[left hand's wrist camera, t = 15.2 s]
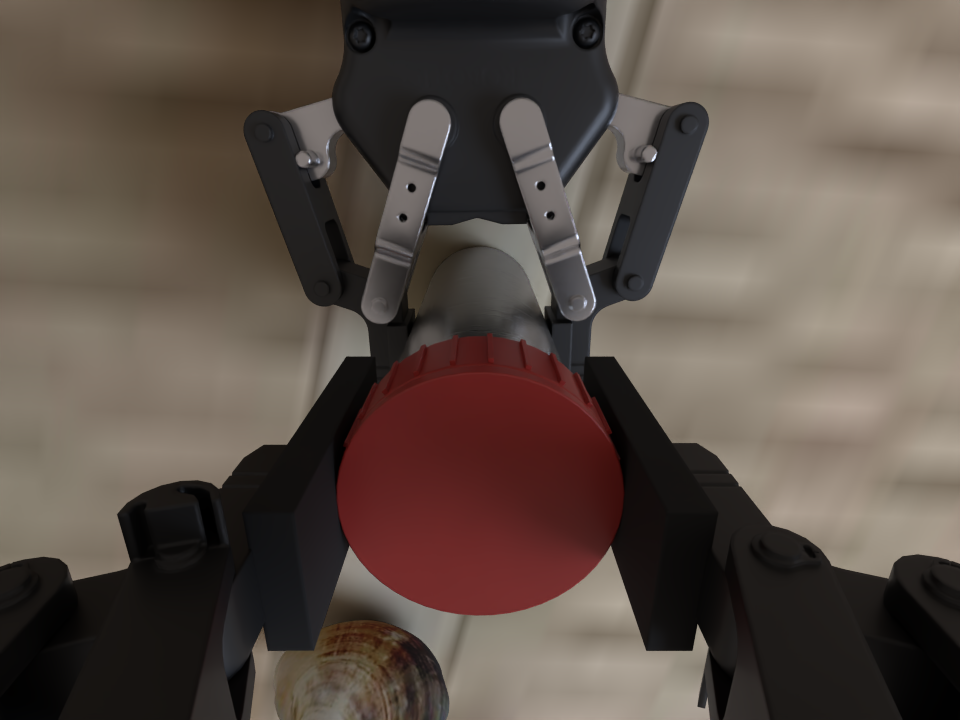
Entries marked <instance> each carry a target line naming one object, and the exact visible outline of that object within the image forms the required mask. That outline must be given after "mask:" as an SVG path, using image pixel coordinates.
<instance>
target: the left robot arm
mask: <svg viewBox="0 0 960 720" xmlns="http://www.w3.org/2000/svg"><path fill="white" fill-rule="evenodd" d="M374 383H376V384H377V371H376V358H375V357H346V358H345V360H344V361H343V362H342V364H341V365H340V367H339V368H338V370H337V371H336V373H335V374H334V376H333V377H332V379H331V380H330V382H329V383H328V385H327V386H326V388H325V389H324V391H323V392H322V394H321V395H320V397H319V398H318V400H317V401H316V403H315V404H314V406H313V407H312V409H311V410H310V412H309V413H308V415H307V416H306V418H305V419H304V421H303V422H302V424H301V425H300V427H299V428H298V429H297V431H296V432H295V434H294V435H293V437H292V438H291V440H290V441H289V443H288V444H287V445H263V446H261V447H260V448H258V449H257V450H255V451H254V452H252V453H250V454H249V455H247V456H246V457H244V458H243V460H242V461H241V462H240V463H239V465H238V466H237V467H236V468H235V470H234V471H233V472H232V476H229V477H228V479H227V480H226V481H225V482H224V484H223V485H222V488H220V489H218V488H217V487H215V486H214V485H213V484H212V483H208V482H203V481H198V480H195V481H179V482H175V483H170V484H166V485H161V486H159V487H156V488H154V489H151V490H149V491H147V492H144V493H142V494H140V495H139V496H137V497H136V498H134V499H133V500H131V501H130V502H128V503H127V504H126V505H125V506H124V507H123V508H122V509H121V510H120V512H119V513H118V514H117V516H118V519H119V523H120V526H121V530H122V533H123V537H124V540H125V544H126V547H127V551H128V554H129V557H130V561H131V562H130V565H129V567H128V569H124V570H121V571H117V572H112V573H108V574H103V575H98V576H94V577H89V578H84V579H80V580H75V581H72V578H71V575H70V572H69V569H68V566H67V565H66V564H65V563H64V562H62V561H61V560H60V559H57V558H49V557H39V558H32V559H25V560H21V561H17V562H13V563H11V564H10V563H9V564H7V565H4V566H1V567H0V720H250V715H251V706H252V698H253V689H254V681H255V673H256V672H255V665H254V658H253V653H252V648H253V646H254V644H255V642H256V640H257V638H258V635H259V633H260V631H261V629H262V627H264V633H265V638H266V643H267V649H268V651H314V649H315V646H316V643H317V640H318V637H319V634H320V631H321V628H322V625H323V622H324V619H325V616H326V613H327V611H328V608H329V605H330V602H331V599H332V596H333V593H334V590H335V587H336V584H337V581H338V578H339V575H340V572H341V569H342V566H343V563H344V560H345V557H346V554H347V551H348V548H349V543H348V541H347V539H346V537H345V535H344V532H343V529H342V526H341V523H340V520H339V516H338V508H337V499H336V482H337V476H338V470H339V466H340V463H341V460H342V457H343V454H344V451H345V449H346V447H343V445H344V442H345V440H346V438H347V436H348V433H349V431H350V429H351V427H352V425H353V423H354V421H355V419H356V417H357V415H358V412H359V410H360V409H362V407H363V405H364V403H365V400H366V398H367V396H368V394H369V392H370V390H371V388H372V386H373V384H374ZM583 384H584V386H585V388H586V390H587V392H588V394H589V396H590V397H591V398H592V397H595V398H596V400H597V402H598V404H599V406H600V409H601V411H602V413H603V415H604V417H605V419H606V421H607V423H608V425H609V427H610V429H611V431H612V433H611V434H609V435H610V437H611V439H612V442H613V444H614V446H615V448H616V450H617V452H618V454H619V457H620V459H621V460H620V465H621V469H622V473H623V477H624V502H623V511H622V517H621V521H620V525H619V528H618V530H617V533H616V535H615V538H614V540H613V542H612V544H611V547H612V550H613V553H614V556H615V559H616V562H617V565H618V568H619V571H620V574H621V577H622V580H623V583H624V586H625V589H626V592H627V595H628V598H629V601H630V604H631V607H632V610H633V612H634V615H635V618H636V621H637V624H638V627H639V630H640V633H641V636H642V639H643V642H644V645H645V648H646V651H692V650H693V645H694V640H695V635H696V629H697V624H698V625H699V628H700V630H701V632H702V634H703V636H704V638H705V640H706V643H707V645H708V647H709V648H708V653H707V658H706V663H705V668H704V673H703V678H702V683H701V688H700V693H699V699H698V707H701V708H705V706H706V701H707V697H708V705H709V713H710V720H960V564H959V563H956V562H953V561H952V562H951V561H949V560H947V559H942V558H939V557H932V556H925V555H910V556H902V557H901V558H900V559H898V560H897V561H896V562H895V563H894V565H893V568H892V570H891V573H890V576H889V579H887V578H883V577H878V576H873V575H869V574H864V573H859V572H854V571H850V570H845V569H841V568H838V567H834V566H831V564H830V561H829V560H828V559H827V557H826V556H825V555H824V553H823V552H822V551H821V549H819V548H818V547H817V546H815V545H814V544H813V543H811V542H810V541H809V540H807V539H806V538H804V537H802V536H800V535H798V534H796V533H794V532H791V531H789V530H787V529H783V528H779V527H775V526H772V525H771V524H770V523H769V521H768V520H767V519H766V517H765V516H764V515H763V514H762V512H761V511H760V510H759V509H758V507H757V506H756V505H755V504H754V502H753V501H752V500H751V499H750V497H749V496H748V495H747V494H746V492H745V491H744V490H743V488H742V487H739V485H738V482H737V481H736V480H735V478H734V477H733V476H732V475H731V474H729V471H728V470H727V468H726V467H725V466H724V465H723V463H722V462H721V461H720V459H719V458H718V457H717V456H716V455H714V454H713V453H711V452H710V451H708V450H707V449H705V448H704V447H702V446H700V445H699V444H697V443H672V442H671V441H670V439H669V438H668V436H667V435H666V433H665V432H664V430H663V429H662V427H661V426H660V425H659V423H658V422H657V420H656V419H655V417H654V416H653V414H652V413H651V411H650V410H649V408H648V407H647V405H646V404H645V402H644V401H643V399H642V398H641V396H640V395H639V393H638V392H637V390H636V389H635V387H634V386H633V384H632V383H631V381H630V380H629V378H628V377H627V375H626V374H625V372H624V371H623V369H622V368H621V366H620V365H619V363H618V362H617V361H616V359H615V358H614V357H585V362H584V376H583Z"/></svg>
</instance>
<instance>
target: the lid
mask: <svg viewBox="0 0 960 720" xmlns="http://www.w3.org/2000/svg"><path fill="white" fill-rule="evenodd" d="M611 433H612V431H611V429H610V427H609V425H608V423H607V421H606V419H605V417H604V415H603V413H602V411H601V409H600V406H599V404H598V402H597V400H596V398H595V397H592V398H591V397H590V396H589V394H588V392H587V390H586V388H585V386H584V384H583V382H582V379H581V377H580V375H579V374H578V373H577V372H576V373H575V374H573V373H572V372H571V371H570V370H569V369H568V368H567V367H565V366H564V365H563V364H562V363H560V362H559V361H558V360H557V357H556V355H555V354H554V353H552V352H551V354H550V355H549V354H547V353H545V352H543V351H541V350H539V349H537V348H535V347H533V346H530V345H527V344H526V340H523V339H521V340H520V342H519V341H514V340H510V339H506V338H500V337H493V336H492V333H487V336H469V337H461V338H459V337H458V335H453V339H449V340H446V341H442V342H439V343H435V344H433V345H430V346H428V347H427V346H426V344H424V345H422V346H421V347H420V350H419V351H417V352H415V353H414V354H412V355H410V356H409V357H407V358H405V359H404V360H403V361H401V362H400V363H399V362H398V361H396V362H394V363H393V365H392V368H391V370H390V372H389V373H388V374H387V375H386V376H385V377H384V378H383V379H382V380H381V381H380V383H379V384H376V383H374V384H373V386H372V388H371V390H370V392H369V394H368V396H367V398H366V400H365V403H364V405H363V407H362V409H360V410H359V412H358V415H357V417H356V419H355V421H354V423H353V425H352V427H351V429H350V431H349V433H348V436H347V438H346V440H345V442H344V445H343V447H346V449H345V451H344V454H343V457H342V460H341V463H340V466H339V470H338V476H337V482H336V499H337V508H338V516H339V520H340V523H341V526H342V529H343V532H344V535H345V537H346V539H347V541H348V543H349V545H350V547H351V548H352V550H353V551H354V553H355V555H356V556H357V558H358V559H359V560H360V561H361V563H362V564H363V565H364V566H365V567H366V568H367V570H368V571H369V572H370V573H371V574H373V575H374V576H375V577H376V578H377V579H378V580H379V581H380V582H381V583H383V584H384V585H386V586H387V587H389V588H390V589H391V590H393V591H394V592H396V593H398V594H400V595H401V596H403V597H405V598H407V599H409V600H411V601H413V602H416V603H418V604H421V605H423V606H426V607H429V608H433V609H436V610H440V611H444V612H450V613H455V614H464V615H497V614H505V613H511V612H516V611H520V610H525V609H528V608H531V607H534V606H537V605H540V604H543V603H545V602H547V601H549V600H551V599H553V598H556V597H558V596H559V595H561V594H563V593H564V592H566V591H567V590H569V589H571V588H572V587H573V586H575V585H576V584H577V583H579V582H580V581H581V580H582V579H584V578H585V577H586V576H587V575H588V574H589V573H590V572H591V571H592V570H593V569H594V568H595V567H596V566H597V564H598V563H599V562H600V561H601V559H602V558H603V557H604V555H605V554H606V552H607V551H608V549H609V547H610V546H611V544H612V542H613V540H614V538H615V535H616V533H617V530H618V528H619V525H620V521H621V517H622V511H623V502H624V477H623V473H622V469H621V465H620V460H621V459H620V457H619V454H618V452H617V450H616V448H615V446H614V444H613V442H612V439H611V437H610V435H609V434H611Z"/></svg>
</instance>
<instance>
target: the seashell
mask: <svg viewBox="0 0 960 720" xmlns="http://www.w3.org/2000/svg"><path fill="white" fill-rule="evenodd" d="M273 686H274V691H275V707H276V711H277V714H278V717H279V719H280V720H446V719H447V716H448V712H449V696H448V692H447V688H446V685H445V682H444V679H443V675H442V671H441V668H440V665H439V663H438V662H437V660H436V658H435V656H434V655H433V654H432V652H431V651H430V649H429V648H428V647H427V646H426V645H425V644H424V643H423V642H422V641H421V640H420V639H419V638H417V637H416V636H414V635H413V634H411V633H409V632H407V631H405V630H403V629H401V628H399V627H396V626H393V625H391V624H388V623H384V622H380V621H373V620H356V621H348V622H342V623H337V624H334V625H330V626H328V627H325V628H322V629H321V631H320V634H319V637H318V640H317V643H316V646H315V649H314V651H286V652H285V653H284V654H283V655H282V656H281V658H280V660H279V661H278V664H277V666H276V669H275V674H274V679H273Z"/></svg>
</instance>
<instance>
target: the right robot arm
mask: <svg viewBox="0 0 960 720" xmlns="http://www.w3.org/2000/svg"><path fill="white" fill-rule="evenodd" d="M340 1H341V12H342V23H343V34H344V55H343V61H342V66H341V69H340V72H339V75H338V77H337V79H336V82H335V84H334V87H333V92H332V98H329V99H326V100H323V101H319V102H316V103H313V104H309V105H306V106H303V107H299V108H296V109H293V110H289V111H286V112H283V113H279V112H275V111H265V110H258V111H255V112H253V113H251V114H250V115H249V116H248V117H247V119H246V120H245V123H244V136H245V139H246V142H247V144H248V147H249V149H250V152H251V155H252V157H253V160H254V162H255V165H256V167H257V170H258V173H259V175H260V178H261V180H262V183H263V186H264V188H265V191H266V193H267V196H268V198H269V201H270V204H271V206H272V209H273V211H274V214H275V217H276V219H277V222H278V224H279V227H280V229H281V232H282V235H283V237H284V240H285V242H286V245H287V248H288V250H289V253H290V255H291V258H292V260H293V263H294V266H295V268H296V271H297V273H298V276H299V279H300V281H301V284H302V286H303V289H304V291H305V294H306V296H307V297H308V299H309V300H310V301H311V302H313V303H314V304H316V305H319V306H330V305H333V304H334V305H337V306H340V307H343V308H346V309H349V310H352V311H355V312H356V313H358V314H359V315H360V316H361V317H362V318H363V319H364V320H365V322H366V324H367V327H368V331H369V342H370V353H371V357H375V358H376V371H377V384H379V383H380V381H381V380H382V379H383V378H384V377H385V376H386V375H387V374H388V373H389V372H390V370H391V368H392V365H393V363H394V362H396V361H398V362H399V360H400V357H401V355H402V352H403V350H404V347H405V345H406V342H407V340H408V337H409V335H410V332H411V330H412V327H413V324H414V322H415V309H408V298H407V292H408V289H409V285H410V282H411V279H412V275H413V272H414V269H415V266H416V262H417V259H418V256H419V252H420V250H421V247H422V244H423V241H424V238H425V235H426V232H427V228H428V225H453V224H457V223H460V222H464V221H467V220H470V219H474V218H481V219H484V220H488V221H492V222H496V223H500V224H527V226H528V229H529V231H530V234H531V237H532V240H533V243H534V245H535V248H536V251H537V253H538V256H539V259H540V262H541V265H542V268H543V271H544V274H545V277H546V280H547V283H548V286H549V289H550V292H551V306H545V317H544V319H545V322H546V324H547V327H548V329H549V332H550V334H551V337H552V339H553V342H554V344H555V347H556V349H557V352H558V354H559V357H560V359H561V362H562V364H563V365H564V366H565V367H567V368H568V369H569V370H570V371H571V372H572V373H573V374H575V373H576V372H577V373H578V374H579V375H580V377H581V379H582V382H583V376H584V362H585V357H590V340H591V326H592V322H593V319H594V317H595V316H596V314H597V313H598V312H599V311H600V310H601V309H603V308H604V307H606V306H609V305H612V304H614V303H617V302H620V301H623V300H628V301H637V300H640V299H642V298H644V297H645V296H646V295H647V294H648V293H649V292H650V290H651V288H652V286H653V283H654V280H655V278H656V275H657V272H658V269H659V266H660V263H661V260H662V258H663V255H664V252H665V249H666V246H667V243H668V241H669V238H670V235H671V232H672V229H673V226H674V224H675V221H676V218H677V215H678V212H679V209H680V206H681V204H682V201H683V198H684V195H685V192H686V189H687V187H688V184H689V181H690V178H691V175H692V172H693V169H694V167H695V164H696V161H697V158H698V155H699V152H700V150H701V147H702V144H703V141H704V138H705V135H706V133H707V130H708V126H709V118H708V114H707V111H706V110H705V108H704V107H703V106H701V105H700V104H698V103H695V102H686V103H682V104H679V105H675V106H666V105H662V104H658V103H655V102H651V101H647V100H643V99H639V98H636V97H632V96H628V95H624V94H621V93H619V92H618V86H617V82H616V79H615V77H614V75H613V73H612V71H611V68H610V66H609V63H608V59H607V55H606V50H605V20H606V2H607V0H340ZM606 129H609V130H610V131H611V132H612V133H613V134H614V135H615V137H616V140H617V153H616V159H617V163H618V165H619V167H620V168H621V170H623V171H624V172H626V173H628V174H629V175H628V178H627V182H626V185H625V188H624V191H623V194H622V198H621V201H620V204H619V207H618V210H617V214H616V217H615V220H614V223H613V226H612V230H611V233H610V236H609V239H608V242H607V246H606V249H605V252H604V255H603V258H602V260H600V261H598V262H595V263H592V264H590V265H587V266H586V265H585V262H584V259H583V256H582V252H581V248H580V240H579V236H578V232H577V229H576V226H575V223H574V220H573V216H572V213H571V210H570V207H569V203H568V200H567V197H566V194H565V190H564V187H565V186H566V185H567V183H568V182H569V181H570V179H571V178H572V176H573V175H574V174H575V172H576V171H577V169H578V168H579V167H580V165H581V164H582V163H583V161H584V160H585V158H586V157H587V156H588V154H589V153H590V152H591V150H592V149H593V147H594V146H595V145H596V143H597V142H598V140H599V139H600V138H601V136H602V135H603V134H604V132H605V131H606ZM344 133H345V134H346V135H347V136H348V138H349V139H350V140H351V142H352V143H353V144H354V146H355V147H356V148H357V149H358V151H359V152H360V153H361V155H362V156H363V157H364V159H365V160H366V161H367V162H368V164H369V165H370V166H371V168H372V169H373V170H374V171H375V173H376V174H377V175H378V177H379V178H380V179H381V181H382V182H383V183H384V184H385V186H386V187H387V188H388V190H389V193H388V197H387V201H386V204H385V208H384V212H383V215H382V219H381V223H380V226H379V230H378V234H377V237H376V242H375V252H374V257H373V260H372V264H371V268H370V269H369V268H366V267H363V266H360V265H357V264H355V263H354V261H353V258H352V255H351V252H350V249H349V246H348V243H347V240H346V237H345V235H344V232H343V229H342V226H341V223H340V220H339V217H338V214H337V212H336V209H335V206H334V203H333V200H332V197H331V194H330V191H329V188H328V186H327V183H326V180H325V178H327V177H329V176H330V175H332V174H333V172H334V171H335V169H336V165H337V158H336V152H335V148H336V143H337V141H338V139H339V137H340V136H341V135H342V134H344Z"/></svg>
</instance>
